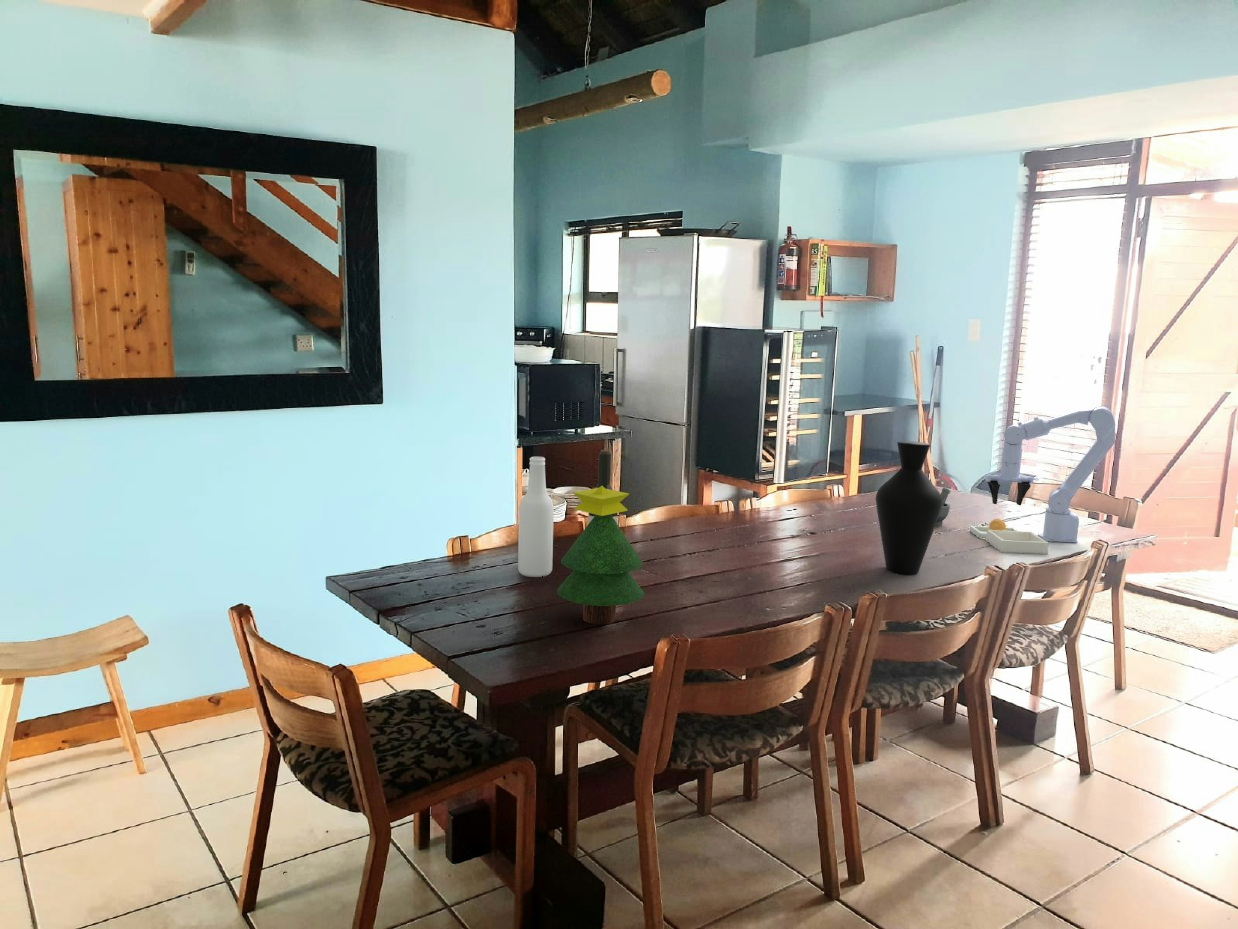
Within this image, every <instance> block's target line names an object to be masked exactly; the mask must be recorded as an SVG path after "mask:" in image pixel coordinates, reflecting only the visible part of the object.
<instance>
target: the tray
mask: <svg viewBox="0 0 1238 929" xmlns="http://www.w3.org/2000/svg"><path fill="white" fill-rule="evenodd" d="M987 530H990V529H989V526H985V525H983V526H981V525H970V526H969V532H970V531H971V532H972V533H971V532H970V533H971V534H972V535H974V534H975V535H976V536H975V535H974V536H975V537H976V538H978V537H979V538H985V539H984V540H986V535H987ZM1005 531H1019V530H1018V529H1017V528H1015V527H1006V530H1005ZM979 538H978V539H979Z"/></svg>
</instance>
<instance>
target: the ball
mask: <svg viewBox="0 0 1238 929" xmlns="http://www.w3.org/2000/svg"><path fill="white" fill-rule="evenodd" d="M988 527H989V529H990V530H1001V531H1005V530H1006V528H1007V524H1006V522H1005V521H1004V520H1002V519H1000V518H996V519H993V520H991V521H990V522H989V525H988Z"/></svg>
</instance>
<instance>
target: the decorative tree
mask: <svg viewBox="0 0 1238 929" xmlns="http://www.w3.org/2000/svg"><path fill="white" fill-rule="evenodd" d="M572 494H573V495H575V497H576V498H578V499H579V500H580V501H581V502H580V503H579V504H578V505H577V506H575V507H574V508H573V510H576V511H580V512H584V513H592V514H596V515H595V516H594V518H593V519H592V520H591V522H590V523H589V524H588V523H587V526H586V527H585V528H584V529H583V531H581V534H579V536H578V537H577V538H576V540H575V541H574V543H573V544H572V545H571V546H570V548H569V549H568V550H567V552H566V553H565V554H564V555H563V556H562V558H561V559H560V563H561V564H562V565H563V567H566V568H567V569H570V570H572V571H571V573H569V575H568V576H567V578H565V580H564V581H563V582H562V583H561V584H560V585H559V587H558V588H557V590H556V593H557V595H558V596H559V597H560V598H562V599H564V600H565V601H568V602H572V603H574V604H575V603H576V604H580V605H582V607H583V608H582V609H583V610H582V620H583V621H584V622H586V623H588V624H591V625H592V624H593V625H607V624H612V623H614V622H615V621H616V615H617V614H616V613H617V612H616V611H617V608H616V607H617V606H622V605H627V604H628V605H629V604H632V603H635V602H637V601H640V600H641V599H643V597H644V594H645V593H644V590H643V589H642V588H641V587H640V585H639V583H638V582H637V581H636V580H635V579H634V577H633V576H632V574H631V572H633V571H637V570H639V569H640V568H642V567H643V565H644V563H643V561H642V559H641V557H640V555H639V554H638V553H637V551H636V550H635V548H634V547H633V545H632V544H631V542H630V541H629V540H628V538H627V536H626V535H625V533H624V532H623V530H622V529H621V528H620V526H619V524H618V522H617V523H616V521H615V520H614V518H613V517H612V515H611V514H614V513H618V514H619V513H622V512H623V513H624V512H627V511H629V510H628V508H626V506H624V505H623V503H621V502H622V501H623V500H624V499H626V498H627V497H628V496H629V495H630V493H628V492H623V491H618V490H613V489H612V490H610V489H605V488H604V487H603V486H601V487H599V488H595V487H594V488H589V489H585V490H579V491H573V492H572Z"/></svg>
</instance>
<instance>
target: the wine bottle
mask: <svg viewBox="0 0 1238 929" xmlns="http://www.w3.org/2000/svg"><path fill="white" fill-rule="evenodd" d="M611 461H612V453H610V450H609V449H601V450H600V452H599V453H598V466H597V467H598V469H597V474H598V475H597V484H596V485H595V487H594V488H599V487H601V486H603V487H604V488H605V489H610V490H613V488H612V486H611V465H612V464H611V463H612V462H611ZM587 513H588V512H587ZM595 515H596V514H592V513H588V518H587V525H588V524H589V523H590V522H591V520H592V519H593V518H594V516H595ZM611 515H612V517H613V518H614V520H615V521H616V523H617V524H618V516H619V512H618V513H614V514H611Z"/></svg>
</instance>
